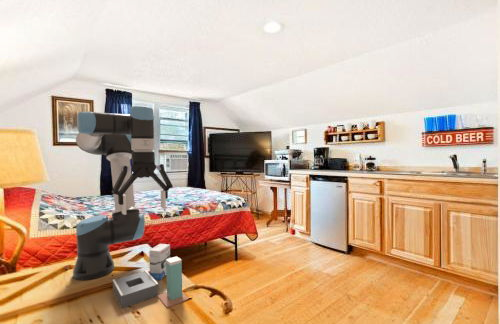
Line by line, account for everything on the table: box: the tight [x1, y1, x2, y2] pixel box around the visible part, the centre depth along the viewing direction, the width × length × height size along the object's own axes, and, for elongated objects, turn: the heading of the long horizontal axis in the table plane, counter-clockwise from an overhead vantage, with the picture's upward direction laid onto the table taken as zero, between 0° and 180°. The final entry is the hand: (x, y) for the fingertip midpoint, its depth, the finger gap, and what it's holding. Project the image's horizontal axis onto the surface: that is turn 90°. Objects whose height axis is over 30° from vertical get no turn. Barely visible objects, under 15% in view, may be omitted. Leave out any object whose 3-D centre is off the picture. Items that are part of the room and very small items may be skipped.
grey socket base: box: [112, 269, 159, 309], centre depth 94 cm, size 14×12×4 cm
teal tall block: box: [165, 255, 183, 301], centre depth 90 cm, size 4×4×13 cm
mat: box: [157, 291, 190, 309], centre depth 91 cm, size 9×9×1 cm
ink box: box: [148, 243, 171, 281], centre depth 107 cm, size 8×5×12 cm, turn 168°
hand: (144, 210), depth 92 cm, fingers open, 13 cm apart
